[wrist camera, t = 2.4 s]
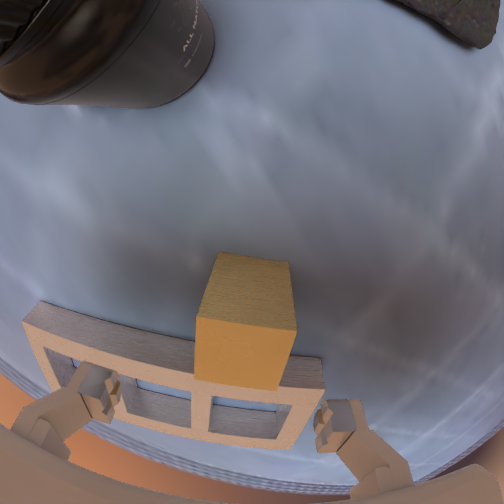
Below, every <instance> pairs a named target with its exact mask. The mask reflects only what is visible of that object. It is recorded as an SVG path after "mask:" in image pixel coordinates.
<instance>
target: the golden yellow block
mask: <svg viewBox="0 0 504 504" xmlns="http://www.w3.org/2000/svg"><path fill="white" fill-rule="evenodd" d="M296 334H297V325H296V317H295V309H294V301H293V293H292V286H291V278H290V271H289V264H288V263H287V262H280V261H274V260H268V259H261V258H255V257H249V256H242V255H236V254H230V253H224V252H219V253H218V255H217V258H216V261H215V264H214V267H213V270H212V272H211V275H210V278H209V281H208V284H207V287H206V290H205V293H204V295H203V298H202V301H201V304H200V307H199V310H198V313H197V316H196V335H195V360H194V379H195V380H200V381H206V382H212V383H217V384H224V385H230V386H237V387H244V388H252V389H260V390H269V391H277V388H278V386H279V383H280V380H281V377H282V375H283V372H284V369H285V366H286V363H287V360H288V358H289V355H290V352H291V349H292V346H293V343H294V340H295V337H296Z"/></svg>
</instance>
